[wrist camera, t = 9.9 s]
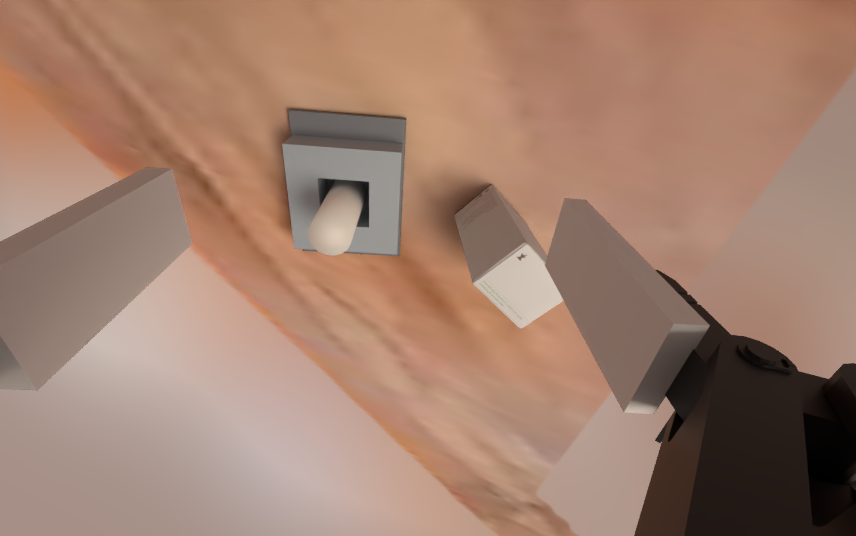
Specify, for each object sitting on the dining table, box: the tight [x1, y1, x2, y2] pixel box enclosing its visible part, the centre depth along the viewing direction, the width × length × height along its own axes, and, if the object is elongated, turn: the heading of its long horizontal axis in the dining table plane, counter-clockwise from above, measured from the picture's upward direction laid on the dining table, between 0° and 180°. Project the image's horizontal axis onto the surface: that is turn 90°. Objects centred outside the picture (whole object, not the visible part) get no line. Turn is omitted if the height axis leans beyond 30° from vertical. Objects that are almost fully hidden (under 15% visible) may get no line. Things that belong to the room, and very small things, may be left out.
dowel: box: [308, 179, 366, 256], centre depth 40 cm, size 4×4×12 cm
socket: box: [282, 109, 406, 256], centre depth 44 cm, size 17×12×5 cm
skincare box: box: [454, 185, 564, 329], centre depth 42 cm, size 8×7×16 cm
